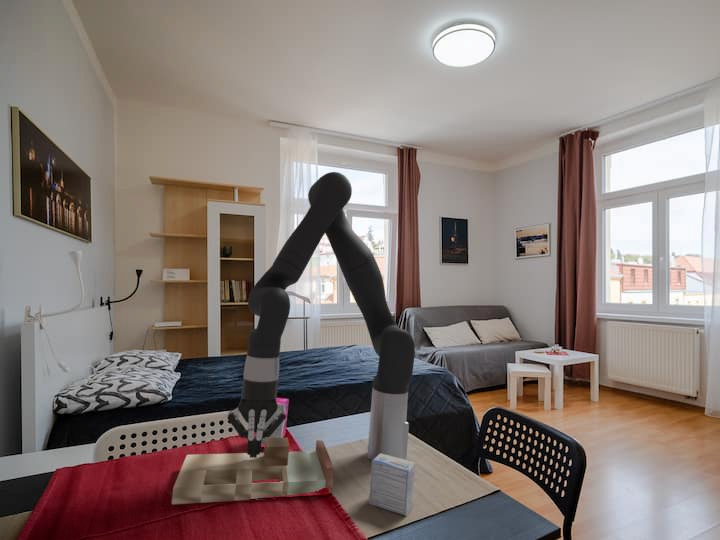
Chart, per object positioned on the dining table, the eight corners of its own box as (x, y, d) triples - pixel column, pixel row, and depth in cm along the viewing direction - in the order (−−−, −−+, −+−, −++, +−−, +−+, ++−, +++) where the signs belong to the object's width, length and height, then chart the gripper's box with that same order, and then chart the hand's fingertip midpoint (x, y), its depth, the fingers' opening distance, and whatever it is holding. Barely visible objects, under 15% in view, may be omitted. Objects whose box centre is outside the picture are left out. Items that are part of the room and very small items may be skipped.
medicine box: (413, 506, 76) (416, 462, 77) (406, 517, 72) (409, 470, 73) (376, 494, 80) (379, 452, 80) (368, 504, 75) (371, 459, 76)
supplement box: (280, 450, 97) (284, 404, 98) (257, 448, 97) (261, 402, 98) (285, 441, 103) (289, 398, 104) (263, 439, 103) (267, 396, 104)
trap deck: (320, 463, 91) (322, 440, 92) (331, 495, 78) (334, 467, 78) (185, 468, 84) (188, 443, 84) (171, 504, 70) (174, 473, 70)
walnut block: (286, 455, 88) (287, 437, 88) (287, 465, 83) (289, 446, 83) (263, 455, 86) (265, 437, 87) (263, 466, 81) (265, 447, 82)
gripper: (289, 373, 90) (282, 448, 89) (231, 371, 87) (222, 449, 86) (292, 381, 83) (284, 463, 82) (228, 379, 79) (219, 464, 78)
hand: (253, 456), depth 84 cm, fingers closed
